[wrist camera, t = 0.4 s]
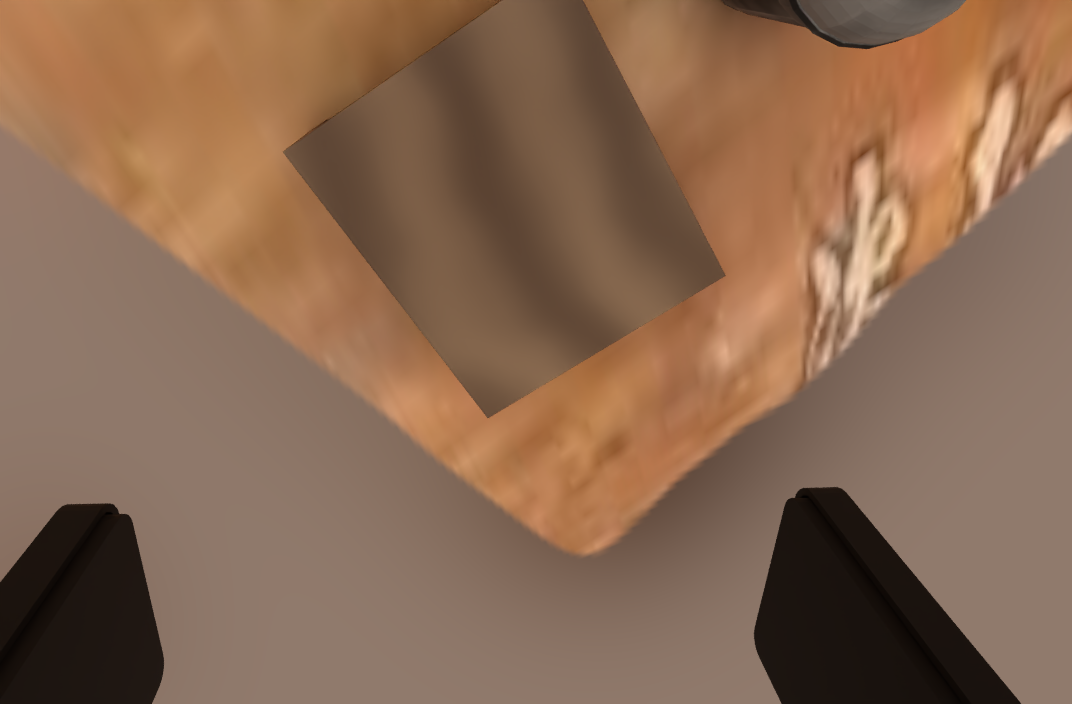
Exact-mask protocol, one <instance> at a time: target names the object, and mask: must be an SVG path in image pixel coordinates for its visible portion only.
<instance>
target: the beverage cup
mask: <svg viewBox="0 0 1072 704" xmlns="http://www.w3.org/2000/svg"><path fill="white" fill-rule="evenodd" d="M721 1H722V2H723V3H724V4H725V5H727V6H729V7H731V8H733V9H735V10H740V11H742V12H744V13H746V14H749V15H753V16H758V17H762V18H767V19H771V20H775V21H780V22H784V23H789V24H793V25H798V26H802V27H806V28H808V29H809V30H810V31H811V32H812V33H813V34H815V35H817V36H819V37H821V38H823V39H825V40H827V41H829V42H831V43H833V44H835V45H837V46H839V47H850V48H861V49H870V48H873V47H877V46H881V45H885V44H889V43H892V42H896V41H899V40H901V39H903V38H907V37H910V36H914V35H916V34H919V33H922V32H923V31H925V30H927V29H928V28H930V27H931V26H933V25H935V24H936V23H938V22H939V21H941V20H943V19H944V18H946V17H947V16H949V15H951V14H952V13H953V12H955V11H956V10H958V9H959V8H960V6H961V5H962V4H963V3H964V2H965V1H966V0H721Z"/></svg>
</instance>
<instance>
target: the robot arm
mask: <svg viewBox="0 0 1072 704" xmlns="http://www.w3.org/2000/svg"><path fill="white" fill-rule="evenodd" d="M754 639H755V645H756V650H757V653H758V655H759V657H760V660H761V662H762V664H763V666H764V668H765V670H766V672H767V674H768V676H769V678H770V680H771V683H772V685H773V687H774V689H775V691H776V693H777V695H778V697H779V699H780V701H781V703H782V704H1021V703H1020V702H1019V700H1018V699H1017V698H1016V697H1015V696H1014V694H1013V693H1012V692H1011V691H1010V689H1009V688H1008V687H1007V686H1006V685H1005V683H1004V682H1003V681H1002V680H1001V679H1000V677H999V676H998V675H997V674H996V673H995V671H994V670H993V669H992V668H991V667H990V666H989V664H988V663H987V662H986V661H985V659H984V658H983V657H982V656H981V655H980V653H979V652H978V651H977V650H976V648H975V647H974V646H973V645H972V644H971V643H970V641H969V640H968V639H967V638H966V636H965V635H964V634H963V633H962V632H961V631H960V629H959V628H958V627H957V626H956V624H955V623H954V622H953V621H952V620H951V618H950V617H949V616H948V615H947V614H946V612H945V611H944V610H943V609H942V607H941V606H940V605H939V604H938V603H937V602H936V600H935V599H934V598H933V597H932V596H931V594H930V593H929V592H928V591H927V589H926V588H925V587H924V586H923V585H922V583H921V582H920V581H919V580H918V579H917V577H916V576H915V575H914V574H913V572H912V571H911V570H910V569H909V568H908V567H907V565H906V564H905V563H904V562H903V561H902V559H901V558H900V557H899V556H898V554H897V553H896V552H895V551H894V550H893V548H892V547H891V546H890V545H889V544H888V542H887V541H886V540H885V539H884V538H883V536H882V535H881V534H880V533H879V531H878V530H877V529H876V528H875V527H874V525H873V524H872V523H871V522H870V521H869V519H868V518H867V517H866V516H865V515H864V513H863V512H862V511H861V510H860V509H859V508H858V506H857V505H856V504H855V503H854V501H853V500H852V499H851V498H850V496H849V495H848V494H847V493H846V492H845V491H844V490H843V489H841V488H838V487H830V488H829V487H827V488H802V489H800V490H799V491H798V492H797V494H796V496H795V498H790V499H788V500H787V502H786V504H785V507H784V511H783V515H782V519H781V523H780V527H779V531H778V535H777V539H776V543H775V547H774V551H773V555H772V559H771V564H770V568H769V572H768V576H767V580H766V584H765V588H764V592H763V596H762V600H761V604H760V608H759V613H758V617H757V620H756V625H755V630H754ZM163 669H164V657H163V652H162V647H161V643H160V639H159V634H158V630H157V626H156V621H155V617H154V613H153V609H152V605H151V600H150V596H149V591H148V587H147V583H146V578H145V574H144V570H143V565H142V561H141V557H140V552H139V548H138V544H137V539H136V535H135V531H134V526H133V522H132V520H131V518H130V516H129V515H127V514H119V512H118V509H117V508H116V507H115V506H114V505H113V504H67V505H64V506H62V507H61V508H60V509H59V510H58V511H57V512H56V513H55V514H54V515H53V517H52V518H51V519H50V521H49V522H48V523H47V524H46V525H45V527H44V528H43V529H42V531H41V532H40V533H39V534H38V536H37V537H36V538H35V539H34V541H33V542H32V543H31V544H30V546H29V547H28V548H27V549H26V551H25V552H24V553H23V554H22V556H21V557H20V558H19V560H18V561H17V562H16V563H15V564H14V566H13V567H12V568H11V570H10V571H9V572H8V573H7V575H6V576H5V577H4V578H3V580H2V581H1V582H0V704H152V702H153V700H154V698H155V695H156V693H157V691H158V688H159V686H160V683H161V680H162V675H163Z"/></svg>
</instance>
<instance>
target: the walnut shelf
mask: <svg viewBox="0 0 1072 704" xmlns="http://www.w3.org/2000/svg"><path fill="white" fill-rule="evenodd" d="M283 153H284V154H285V156H286V157H287V158H288V159H289V161H290V162H291V163H292V165H293V166H294V167H295V169H296V170H297V171H298V172H299V174H300V175H301V176H302V178H303V179H304V180H305V182H306V183H307V184H308V185H309V187H310V188H311V189H312V191H313V192H314V193H315V195H316V196H317V197H318V198H319V200H320V201H321V202H322V204H323V205H324V206H325V208H326V209H327V210H328V211H329V213H330V214H331V215H332V217H333V218H334V219H335V220H336V222H337V223H338V224H339V226H340V227H341V228H342V230H343V231H344V232H345V233H346V235H347V236H348V237H349V239H350V240H351V241H352V243H353V244H354V245H355V246H356V248H357V249H358V250H359V252H360V253H361V254H362V256H363V257H364V258H365V259H366V261H367V262H368V263H369V265H370V266H371V267H372V269H373V270H374V271H375V272H376V274H377V275H378V276H379V278H380V279H381V280H382V282H383V283H384V284H385V285H386V287H387V288H388V289H389V291H390V292H391V293H392V295H393V296H394V297H395V298H396V300H397V301H398V302H399V304H400V305H401V306H402V307H403V309H404V310H405V311H406V313H407V314H408V315H409V317H410V318H411V319H412V320H413V322H414V323H415V324H416V326H417V327H418V328H419V330H420V331H421V332H422V333H423V335H424V336H425V337H426V339H427V340H428V341H429V343H430V344H431V345H432V346H433V348H434V349H435V350H436V352H437V353H438V354H439V356H440V357H441V358H442V359H443V361H444V362H445V363H446V365H447V366H448V367H449V369H450V370H451V371H452V372H453V374H454V375H455V376H456V378H457V379H458V380H459V382H460V383H461V384H462V385H463V387H464V388H465V389H466V391H467V392H468V393H469V394H470V396H471V397H472V398H473V400H474V401H475V402H476V404H477V405H478V406H479V407H480V409H481V410H482V411H483V413H484V414H485V415H486V417H487V418H489V417H491V416H492V415H494V414H496V413H497V412H499V411H501V410H503V409H504V408H506V407H508V406H509V405H511V404H513V403H514V402H516V401H518V400H519V399H521V398H523V397H524V396H526V395H528V394H529V393H531V392H533V391H534V390H536V389H538V388H539V387H541V386H543V385H544V384H546V383H548V382H549V381H551V380H553V379H554V378H556V377H558V376H559V375H561V374H563V373H564V372H566V371H568V370H569V369H571V368H573V367H574V366H576V365H578V364H579V363H581V362H583V361H584V360H586V359H588V358H589V357H591V356H593V355H594V354H596V353H598V352H599V351H601V350H603V349H604V348H606V347H608V346H609V345H611V344H613V343H614V342H616V341H618V340H619V339H621V338H623V337H624V336H626V335H628V334H629V333H631V332H633V331H634V330H636V329H638V328H639V327H641V326H643V325H644V324H646V323H648V322H649V321H651V320H653V319H654V318H656V317H658V316H659V315H661V314H663V313H664V312H666V311H668V310H669V309H671V308H673V307H674V306H676V305H678V304H679V303H681V302H683V301H684V300H686V299H688V298H689V297H691V296H693V295H694V294H696V293H698V292H699V291H701V290H703V289H704V288H706V287H708V286H709V285H711V284H713V283H714V282H716V281H718V280H719V279H721V278H723V277H724V276H726V275H725V273H724V272H723V270H722V268H721V266H720V264H719V262H718V260H717V258H716V256H715V254H714V252H713V250H712V248H711V246H710V245H709V243H708V241H707V239H706V237H705V235H704V233H703V231H702V229H701V227H700V225H699V223H698V221H697V219H696V218H695V216H694V214H693V212H692V210H691V208H690V206H689V204H688V202H687V200H686V198H685V196H684V194H683V192H682V191H681V189H680V187H679V185H678V183H677V181H676V179H675V177H674V175H673V173H672V171H671V169H670V167H669V165H668V164H667V162H666V160H665V158H664V156H663V154H662V152H661V150H660V148H659V146H658V144H657V142H656V140H655V138H654V136H653V135H652V133H651V131H650V129H649V127H648V125H647V123H646V121H645V119H644V117H643V115H642V113H641V111H640V109H639V108H638V106H637V104H636V102H635V100H634V98H633V96H632V94H631V92H630V90H629V88H628V86H627V84H626V82H625V81H624V79H623V77H622V75H621V73H620V71H619V69H618V67H617V65H616V63H615V61H614V59H613V57H612V55H611V54H610V52H609V50H608V48H607V46H606V44H605V42H604V40H603V38H602V36H601V34H600V32H599V30H598V28H597V27H596V25H595V23H594V21H593V19H592V17H591V15H590V13H589V11H588V9H587V7H586V5H585V3H584V1H583V0H501V1H500V2H498V3H497V4H495V5H494V6H493V7H491V8H490V9H488V10H487V11H485V12H484V13H482V14H481V15H480V16H478V17H477V18H475V19H474V20H472V21H471V22H469V23H468V24H467V25H465V26H464V27H462V28H461V29H459V30H458V31H456V32H455V33H454V34H452V35H451V36H449V37H448V38H446V39H445V40H443V41H442V42H440V43H439V44H438V45H436V46H435V47H433V48H432V49H430V50H429V51H427V52H426V53H425V54H423V55H422V56H420V57H419V58H417V59H416V60H414V61H413V62H412V63H410V64H409V65H407V66H406V67H404V68H403V69H401V70H400V71H399V72H397V73H396V74H394V75H393V76H391V77H390V78H388V79H387V80H385V81H384V82H383V83H381V84H380V85H378V86H377V87H375V88H374V89H372V90H371V91H370V92H368V93H367V94H365V95H364V96H362V97H361V98H359V99H358V100H357V101H355V102H354V103H352V104H351V105H349V106H348V107H346V108H345V109H344V110H342V111H341V112H339V113H338V114H336V115H335V116H333V117H332V118H330V119H329V120H325V121H324V122H322V123H321V124H320V125H318V126H317V127H315V128H314V129H312V130H311V131H309V132H308V133H307V134H305V135H304V136H303V137H302V138H300V139H299V140H298V141H296V142H295V143H294V144H293V145H291V146H290V147H289V148H287V149H286V150H285V151H284V152H283Z"/></svg>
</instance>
